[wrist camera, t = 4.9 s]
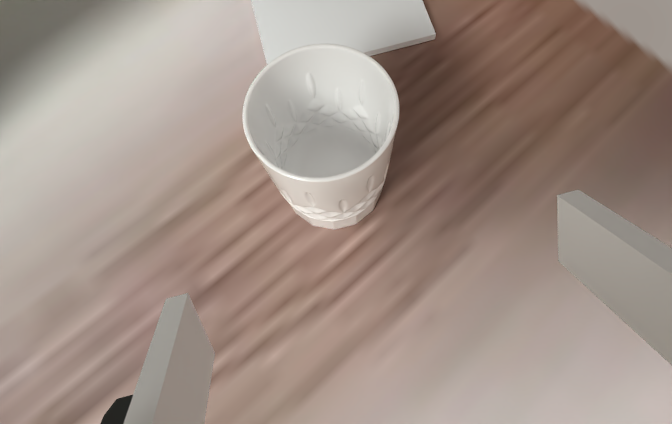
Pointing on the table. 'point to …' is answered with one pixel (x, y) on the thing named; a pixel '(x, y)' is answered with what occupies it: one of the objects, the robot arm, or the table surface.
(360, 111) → the white cup
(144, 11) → the table surface
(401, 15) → the mat
